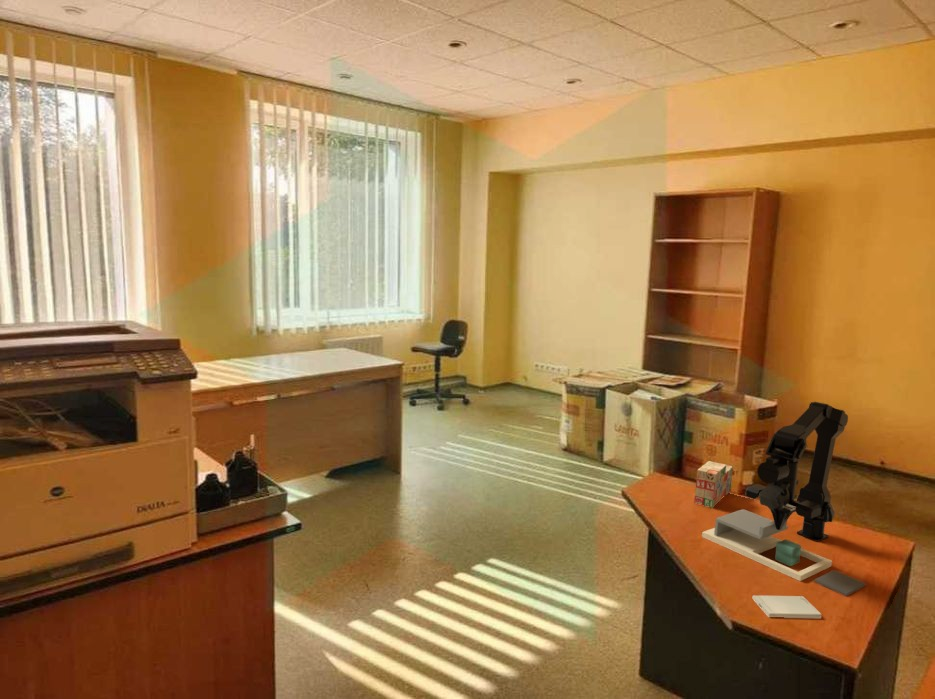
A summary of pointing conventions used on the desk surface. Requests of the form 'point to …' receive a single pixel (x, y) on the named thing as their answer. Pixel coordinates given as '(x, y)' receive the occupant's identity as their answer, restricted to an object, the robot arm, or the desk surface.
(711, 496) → the stack of blocks
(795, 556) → the block
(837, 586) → the mat
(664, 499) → the desk surface
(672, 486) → the desk surface
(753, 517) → the cover
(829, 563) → the white flat frame
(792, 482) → the robot arm
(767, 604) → the hard drive
